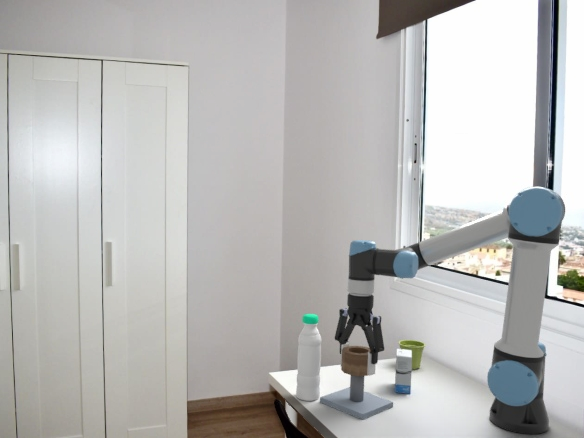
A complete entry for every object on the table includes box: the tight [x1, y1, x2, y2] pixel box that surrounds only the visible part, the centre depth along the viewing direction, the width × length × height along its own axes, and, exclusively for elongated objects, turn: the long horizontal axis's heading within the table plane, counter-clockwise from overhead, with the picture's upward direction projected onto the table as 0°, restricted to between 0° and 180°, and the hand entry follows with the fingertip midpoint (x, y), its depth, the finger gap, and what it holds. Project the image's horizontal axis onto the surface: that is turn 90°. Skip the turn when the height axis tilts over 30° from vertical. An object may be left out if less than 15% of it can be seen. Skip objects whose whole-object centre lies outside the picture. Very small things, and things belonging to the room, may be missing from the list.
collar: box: [340, 345, 371, 377], centre depth 160 cm, size 9×9×6 cm
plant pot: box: [398, 339, 426, 370], centre depth 198 cm, size 9×9×9 cm
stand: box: [319, 375, 394, 420], centre depth 160 cm, size 16×14×11 cm
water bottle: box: [295, 313, 322, 402], centre depth 165 cm, size 7×7×25 cm
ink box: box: [394, 348, 413, 395], centre depth 175 cm, size 8×5×12 cm, turn 168°
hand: (357, 369), depth 160 cm, fingers closed on collar, 9 cm apart
